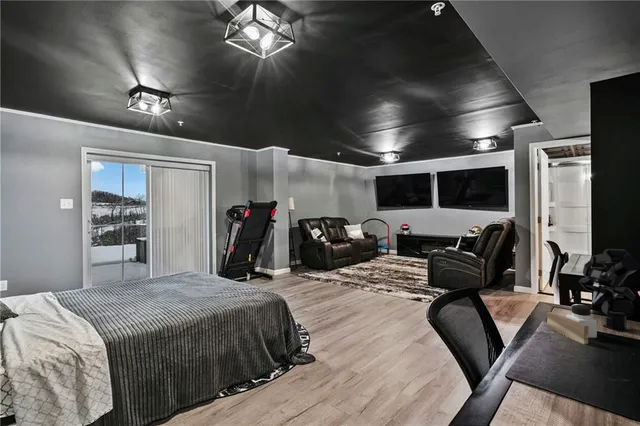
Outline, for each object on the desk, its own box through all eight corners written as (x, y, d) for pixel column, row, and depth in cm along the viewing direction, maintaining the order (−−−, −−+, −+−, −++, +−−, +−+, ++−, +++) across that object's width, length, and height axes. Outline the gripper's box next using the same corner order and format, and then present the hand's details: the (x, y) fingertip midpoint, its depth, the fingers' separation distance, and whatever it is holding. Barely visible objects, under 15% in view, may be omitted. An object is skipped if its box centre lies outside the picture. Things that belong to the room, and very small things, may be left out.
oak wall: (551, 328, 137) (551, 312, 137) (588, 343, 122) (588, 325, 121) (547, 328, 137) (547, 312, 137) (583, 344, 121) (583, 326, 121)
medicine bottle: (597, 337, 127) (597, 308, 127) (579, 338, 127) (579, 308, 127) (582, 330, 134) (582, 302, 134) (565, 330, 134) (565, 302, 134)
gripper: (582, 259, 141) (561, 285, 139) (629, 267, 123) (605, 297, 121) (597, 276, 143) (576, 302, 141) (646, 286, 124) (622, 316, 123)
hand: (593, 304), depth 131 cm, fingers closed
